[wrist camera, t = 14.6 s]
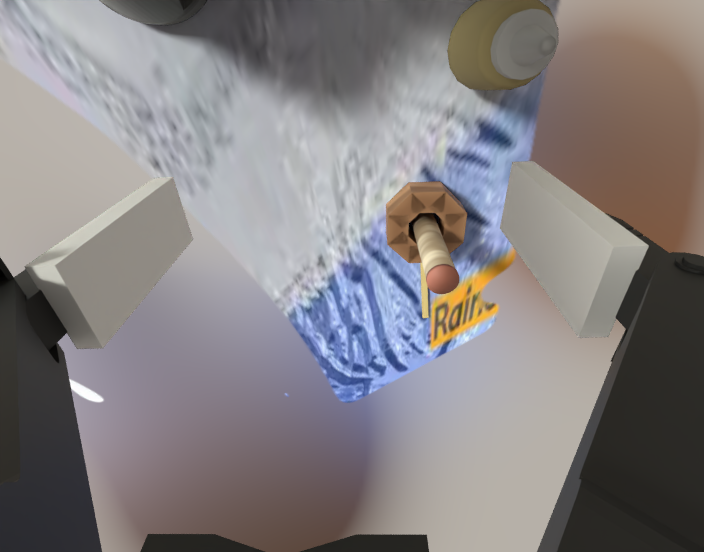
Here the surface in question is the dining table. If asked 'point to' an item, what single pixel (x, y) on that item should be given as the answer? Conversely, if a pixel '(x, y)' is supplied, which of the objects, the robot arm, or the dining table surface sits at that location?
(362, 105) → the dining table surface
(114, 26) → the dining table surface
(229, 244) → the dining table surface
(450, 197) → the walnut bead
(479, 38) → the squeeze bottle
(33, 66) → the dining table surface
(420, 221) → the needle dowel
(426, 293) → the pale yellow wooden rod
